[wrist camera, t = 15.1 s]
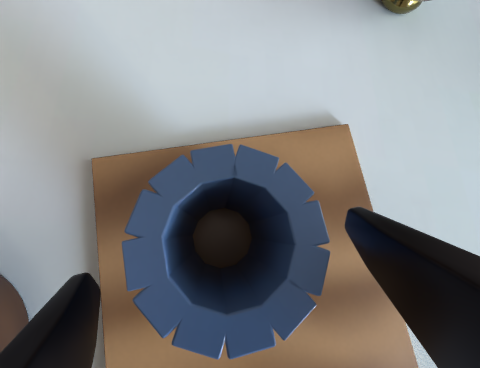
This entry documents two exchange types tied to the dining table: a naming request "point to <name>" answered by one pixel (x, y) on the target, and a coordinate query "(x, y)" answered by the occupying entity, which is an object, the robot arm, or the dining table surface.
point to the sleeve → (232, 277)
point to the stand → (10, 313)
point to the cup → (402, 5)
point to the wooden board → (236, 247)
